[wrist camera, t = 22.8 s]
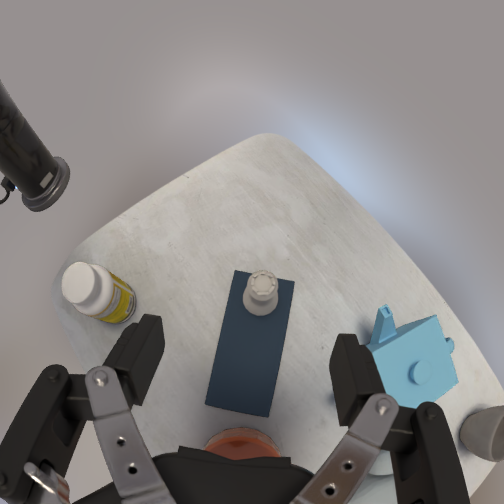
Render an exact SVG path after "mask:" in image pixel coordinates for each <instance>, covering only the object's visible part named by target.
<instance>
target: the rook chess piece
mask: <svg viewBox="0 0 504 504" xmlns="http://www.w3.org/2000/svg"><path fill="white" fill-rule="evenodd" d="M277 290H278V281H277V279H276V277H275V276H274V275H273V274H272V273H271V272H268V271H266V270H259V271H257V272H254V273H253V274H252V275H251V276H250V277H249V279H248V282H247V287H246V289H245V291H244V294H243V303H244V305H245V308H246V309H247V310H248V311H249V312H250V313H252V314H255V315H257V316H260V315H267V314H269V313H271V312H272V311H273V310H274V309H275V308H276V305H277V303H278V293H277Z"/></svg>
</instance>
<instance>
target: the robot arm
mask: <svg viewBox="0 0 504 504" xmlns="http://www.w3.org/2000/svg"><path fill="white" fill-rule="evenodd" d="M0 171H1V172H2V173H3V174H4V175H5V177H4V179H3V180H2V182H1V185H2V186H3V187H4V188H5V190H6V192H7V194H6V196H5V198H4V199H2V200H0V204H2V203H4V202H5V201H6V200H7V199H8V197H9V194H10V191H14V189H15V187H16V188H18V189H19V191H20V192H21V193H23V194H24V196H25V197H26V198H27V199H28V200H29V201H32V202H35V201H39V200H41V199H43V198H44V197H45V196H47V195H48V194H49V193H50V192H51V191H52V189H53V188H54V187H55V185H56V184H57V182H58V180H59V177H60V174H61V167H60V165H59V163H58V162H57V161H56V160H55V159H54V158H53V156H52V155H51V154H50V152H49V151H48V150H47V148H46V147H45V146H44V144H43V143H42V141H41V140H40V139H39V138H38V136H37V135H36V133H35V132H34V131H33V129H32V128H31V127H30V125H29V124H28V122H27V121H26V119H25V118H24V117H23V115H22V113H21V112H20V111H19V109H18V108H17V106H16V105H15V103H14V102H13V100H12V98H11V97H10V95H9V94H8V92H7V90H6V89H5V87H4V85H3V84H2V82H1V80H0ZM164 348H165V340H164V333H163V325H162V318H161V316H156V315H150V314H144V315H143V316H142V318H141V320H140V321H139V323H132V324H131V325H129V326H128V327H126V328H125V329H124V331H123V332H122V334H121V336H120V338H119V339H118V340H117V343H116V344H115V345H114V347H113V349H112V350H111V352H110V353H109V355H108V357H107V358H106V360H105V362H104V363H103V365H102V366H97V367H94V368H92V369H91V370H89V371H88V373H87V374H84V375H83V374H80V375H79V374H69V373H68V371H67V369H66V368H65V367H64V366H62V365H58V364H55V365H50V366H48V367H46V368H45V369H44V370H43V371H42V373H41V374H40V376H39V377H38V379H37V380H36V382H35V384H34V385H33V387H32V389H31V390H30V392H29V393H28V395H27V397H26V398H25V400H24V402H23V404H22V405H21V407H20V409H19V411H18V413H17V414H16V416H15V418H14V420H13V422H12V423H11V425H10V427H9V429H8V431H7V433H6V435H5V437H4V439H3V441H2V443H1V445H0V498H2V499H4V500H5V501H6V502H7V503H9V504H70V501H69V492H70V490H69V486H68V483H67V481H66V480H65V479H64V478H65V475H66V472H67V469H68V466H69V463H70V461H71V458H72V456H73V453H74V450H75V448H76V445H77V442H78V440H79V438H80V435H81V433H82V430H83V428H84V426H85V423H86V421H87V420H90V421H93V424H94V427H95V431H96V434H97V437H98V440H99V443H100V446H101V450H102V452H103V455H104V458H105V461H106V464H107V466H108V469H109V471H110V474H111V476H112V479H113V482H111V483H109V484H108V485H106V486H104V487H102V488H100V489H99V490H97V491H95V492H93V493H91V494H89V495H87V496H85V497H83V498H81V499H79V500H78V501H76V502H74V503H72V504H348V503H349V502H350V500H351V499H352V497H353V496H354V494H355V493H356V491H357V490H358V488H359V487H360V485H361V484H362V482H363V481H364V479H365V477H366V476H367V474H368V473H369V471H370V469H371V468H372V466H373V464H374V462H375V461H376V459H377V457H378V455H379V454H380V452H381V450H385V451H390V457H391V463H392V469H393V475H394V482H395V489H396V497H397V504H470V500H469V496H468V491H467V487H466V483H465V479H464V475H463V471H462V468H461V464H460V461H459V457H458V454H457V451H456V447H455V444H454V441H453V438H452V435H451V432H450V429H449V426H448V423H447V420H446V418H445V415H444V412H443V410H442V408H441V407H440V406H439V405H437V404H436V403H434V402H429V401H426V402H423V403H421V404H420V405H419V406H418V407H417V408H410V407H404V406H400V405H398V403H397V401H396V400H395V399H394V398H393V397H392V396H390V395H388V394H386V391H385V388H384V385H383V382H382V379H381V377H380V374H379V371H378V369H377V365H376V363H375V360H374V357H373V355H372V352H371V351H370V350H369V349H368V348H367V347H366V346H365V345H359V342H358V339H357V336H356V335H355V334H338V336H337V339H336V342H335V345H334V348H333V351H332V354H331V357H330V363H329V369H330V375H331V380H332V386H333V391H334V396H335V402H336V408H337V413H338V419H339V425H340V426H348V429H349V430H348V431H347V433H346V434H345V435H344V437H343V438H342V440H341V441H340V442H339V444H338V445H337V447H336V448H335V449H334V451H333V452H332V453H331V455H330V456H329V457H328V459H327V460H326V461H325V463H324V464H323V465H322V466H321V468H320V469H319V470H318V471H317V473H316V474H315V475H314V474H313V473H312V472H310V471H308V470H307V469H305V468H302V467H300V466H297V465H294V464H291V457H267V456H262V457H255V458H248V459H240V460H232V459H229V458H226V457H223V456H220V455H217V454H214V453H212V452H209V451H206V450H200V449H194V448H188V447H183V446H179V449H178V452H172V453H165V454H161V455H158V456H155V457H153V458H152V457H151V455H150V453H149V451H148V449H147V447H146V445H145V443H144V440H143V438H142V436H141V434H140V432H139V429H138V427H137V425H136V422H135V420H134V418H133V415H132V413H131V409H132V406H133V404H135V405H139V406H142V404H143V401H144V399H145V396H146V394H147V391H148V389H149V386H150V384H151V381H152V379H153V377H154V374H155V372H156V369H157V367H158V365H159V362H160V360H161V358H162V355H163V352H164Z"/></svg>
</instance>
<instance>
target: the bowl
mask: <svg viewBox="0 0 504 504" xmlns="http://www.w3.org/2000/svg"><path fill="white" fill-rule="evenodd" d="M203 450H206V451H209V452H212V453H214V454H217V455H220V456H223V457H226V458H229V459H232V460H240V459H248V458H255V457H262V456H267V457H282V456H281V453H280V450H279V448H278V447H277V446H276V444H275V443H274V442H273V440H272V439H271V438H270V437H268V436H266V435H265V434H263V433H261V432H259V431H258V430H254V429H248V428H243V427H240V428H233V429H226V430H224V431H222V432H220V433H218V434H216V435H214V436H213V437H212V438H211V439H210V440H209V441H208V443H207V444H206V445H205V446H204V448H203Z"/></svg>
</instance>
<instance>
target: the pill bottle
mask: <svg viewBox="0 0 504 504" xmlns="http://www.w3.org/2000/svg"><path fill="white" fill-rule="evenodd" d="M62 292H63V294H64V296H65V298H66V299H67V300H68V301H69V302H71V303H72V304H73V306H74V307H75V308H76V309H77V310H78V311H79V312H81V313H82V314H85V315H87V316H90V317H93V318H96V319H99V320H102V321H106V322H109V323H113V324H118V323H122V322H124V321H126V320H127V319H128V318H130V316H131V315H132V313H133V311H134V309H135V303H136V300H135V295H134V292H133V290H132V288H131V287H130V286H129V285H128V284H127V283H125V282H124V281H122V280H121V279H119V278H118V277H116V276H115V275H114V274H112V273H111V272H109V271H108V270H107V269H105V268H104V267H102V266H100V265H96V264H90V265H88V264H87V263H85V262H76V263H74V264H72V265H70V266H69V267H68V268H67V270H66V271H65V273H64V275H63V278H62Z"/></svg>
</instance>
